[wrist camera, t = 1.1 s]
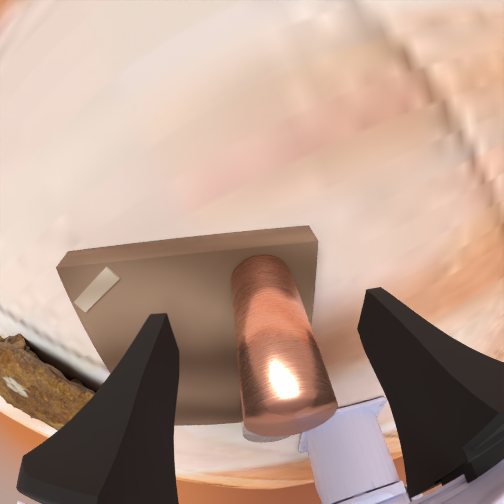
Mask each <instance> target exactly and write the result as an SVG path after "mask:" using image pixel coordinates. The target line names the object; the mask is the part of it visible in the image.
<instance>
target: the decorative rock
mask: <svg viewBox="0 0 504 504" xmlns="http://www.w3.org/2000/svg"><path fill="white" fill-rule="evenodd" d="M94 394H95V392H94V391H93V390H90V389H88V388H86V387H84V385H83V384H82V383H81V382H80V381H78V380H77V379H73V380H71V381H69V380H67V379H66V378H65V376H64V375H63V374H62V373H61V372H60V371H59V370H57V369H56V368H54V367H53V366H52V365H49V364H46V363H43V362H42V361H41V360H40V359H39V357H38V356H37V355H36V354H35V353H34V352H32V351H31V350H30V347H28V346H27V345H26V343H25V340H24V338H23V337H22V336H21V335H20V334H17V335H15V336H9V337H7V338H5V339H3V338H1V336H0V396H2V397H3V398H4V399H5V401H6V402H7V403H9V404H11V405H13V406H14V407H16V408H18V409H20V410H22V411H23V412H25V413H26V414H28V415H30V416H31V418H36V419H39V420H41V421H43V422H45V423H46V424H48V425H49V426H51V427H53V428H55V429H56V430H59V429H61V428H62V427H63V426H64V425H65V424H66V423H67V422H69V421H70V420H71V419H72V418H73V417H74V416H75V415H76V414H77V413H78V412H79V411H80V410H81V409H82V408H83V406H84V405H85V404H86V403H87V402H88V401H89V400H90V399H91V398H92V397H93V395H94Z"/></svg>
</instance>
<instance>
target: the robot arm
mask: <svg viewBox="0 0 504 504" xmlns="http://www.w3.org/2000/svg"><path fill="white" fill-rule="evenodd" d="M357 329H358V332H359V335H360V338H361V342H362V344H363V347H364V350H365V353H366V355H367V357H368V359H369V361H370V363H371V365H372V367H373V369H374V372H375V374H376V376H377V378H378V380H379V382H380V384H381V386H382V388H383V390H384V393H385V395H386V397H387V400H388V402H389V405H390V408H391V411H392V414H393V417H394V421H395V424H396V428H397V432H398V436H399V440H400V444H401V449H402V454H403V459H404V465H405V472H406V482H407V484H406V485H404V484H403V481H400V480H399V477H398V474H397V471H396V469H395V466H394V463H393V460H392V457H391V455H390V452H389V449H388V447H387V444H386V441H385V439H384V436H383V434H382V431H381V428H380V426H379V423H378V421H377V416H378V415H379V413H380V411H381V410H382V408H383V406H384V404H385V403H386V401H387V400H386V398H385V397H381V398H377V399H374V400H370V401H367V402H363V403H359V404H356V405H352V406H348V407H343V408H339V409H337V410H336V412H335V414H334V415H333V416H332V417H331V418H330V419H329V420H327V421H326V422H325V423H323V424H321V425H320V426H318V427H316V428H313V429H311V430H309V431H306V432H303V433H302V434H301V439H300V444H299V448H298V451H299V452H307V451H308V455H309V459H310V463H311V468H312V472H313V476H314V481H315V485H316V489H317V492H318V495H319V496H320V498H321V501H322V504H504V362H501V361H498V360H496V359H493V358H491V357H489V356H486V355H484V354H482V353H480V352H478V351H476V350H474V349H472V348H470V347H468V346H466V345H464V344H462V343H461V342H459V341H457V340H455V339H454V338H452V337H450V336H449V335H447V334H446V333H444V332H443V331H441V330H440V329H438V328H437V327H435V326H434V325H432V324H431V323H429V322H428V321H426V320H425V319H424V318H422V317H421V316H419V315H418V314H417V313H415V312H414V311H413V310H411V309H410V308H409V307H407V306H406V305H405V304H403V303H402V302H401V301H399V300H398V299H397V298H395V297H394V296H393V295H391V294H390V293H388V292H387V291H386V290H384V289H383V288H381V287H379V288H373V289H367V290H366V294H365V299H364V303H363V308H362V312H361V316H360V320H359V324H358V328H357ZM179 366H180V364H179V348H178V346H177V343H176V340H175V337H174V334H173V331H172V328H171V325H170V321H169V318H168V315H167V313H158V314H150V315H149V316H148V318H147V320H146V321H145V323H144V324H143V326H142V327H141V329H140V331H139V332H138V334H137V335H136V337H135V339H134V340H133V342H132V343H131V345H130V346H129V348H128V349H127V351H126V352H125V354H124V355H123V357H122V359H121V360H120V361H119V363H118V364H117V366H116V367H115V368H114V370H113V371H112V373H111V374H110V375H109V377H108V378H107V379H106V381H105V382H104V383H103V385H102V386H101V387H100V388H99V389H98V391H97V392H96V393H95V394H94V395H93V397H92V398H91V399H90V400H89V401H88V402H87V403H86V404H85V405H84V406H83V408H82V409H81V410H80V411H79V412H78V413H77V414H76V415H75V416H74V417H73V418H72V419H71V420H70V421H69V422H67V423H66V424H65V425H64V426H63V427H62V428H61V429H59V430H58V431H57V432H56V433H55V434H53V435H52V436H51V437H50V438H48V439H47V440H46V441H45V442H43V443H42V444H40V445H39V446H37V447H36V448H35V449H33V450H32V451H30V452H29V453H27V454H25V455H24V456H23V459H22V463H21V467H20V472H19V476H18V481H17V487H16V488H17V490H18V491H19V492H20V493H22V494H23V495H25V496H27V497H29V498H31V499H33V500H35V501H37V502H39V503H41V504H179V503H178V495H177V488H176V477H175V463H174V422H175V412H176V403H177V394H178V385H179ZM441 483H442V487H440V488H438V489H436V490H434V491H432V492H431V493H429V494H426V495H424V496H423V494H422V493H423V492H426V491H427V490H430V489H431V488H434V487H435V486H437V485H439V484H441ZM17 504H26V503H23V502H21V501H18V502H17Z"/></svg>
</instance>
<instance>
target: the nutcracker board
mask: <svg viewBox="0 0 504 504" xmlns="http://www.w3.org/2000/svg"><path fill="white" fill-rule="evenodd" d="M317 251H318V240H317V238H316V237H315V235H314V233H313V232H312V230H311V228H310V227H309V226H297V227H286V228H275V229H264V230H254V231H244V232H233V233H224V234H214V235H204V236H195V237H186V238H176V239H167V240H159V241H150V242H141V243H133V244H124V245H116V246H108V247H100V248H92V249H84V250H77V251H69V252H67V254H66V255H65V256H64V258H63V259H62V260H61V262H60V263H59V264H58V266H57V267H56V269H57V271H58V274H59V276H60V278H61V281H62V283H63V285H64V288H65V290H66V292H67V294H68V296H69V298H70V301H71V303H72V305H73V307H74V309H75V311H76V313H77V315H78V317H79V319H80V321H81V323H82V325H83V327H84V329H85V330H86V332H87V334H88V336H89V338H90V340H91V341H92V343H93V345H94V347H95V348H96V350H97V352H98V354H99V355H100V357H101V359H102V360H103V362H104V364H105V365H106V367H107V369H108V370H109V372H110V373H112V371H113V370H114V368H115V367H116V366H117V364H118V363H119V361H120V360H121V359H122V357H123V355H124V354H125V352H126V351H127V349H128V348H129V346H130V345H131V343H132V342H133V340H134V339H135V337H136V335H137V334H138V332H139V331H140V329H141V327H142V326H143V324H144V323H145V321H146V320H147V318H148V316H149V315H150V314H158V313H167V315H168V318H169V321H170V325H171V328H172V331H173V334H174V337H175V340H176V343H177V346H178V348H179V364H180V366H179V385H178V394H177V403H176V412H175V422H174V425H210V424H226V423H238V422H242V418H241V407H242V402H241V392H240V382H239V371H238V360H237V349H236V338H235V327H234V315H233V303H232V290H231V277H232V274H233V271H234V270H235V268H236V267H237V266H238V265H239V264H240V263H241V262H242V261H244V260H245V259H247V258H249V257H252V256H255V255H263V254H265V255H273V256H276V257H278V258H280V259H282V260H283V261H284V262H285V263H286V264H287V265H288V267H289V268H290V271H291V274H292V276H293V279H294V282H295V284H296V287H297V290H298V292H299V295H300V298H301V301H302V303H303V306H304V309H305V312H306V314H307V317H308V320H309V323H310V325H311V322H312V312H313V302H314V291H315V279H316V266H317Z"/></svg>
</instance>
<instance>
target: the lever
mask: <svg viewBox="0 0 504 504" xmlns="http://www.w3.org/2000/svg"><path fill="white" fill-rule="evenodd" d="M231 290H232V303H233V315H234V327H235V338H236V349H237V360H238V371H239V382H240V392H241V402H242V407H241V418H242V428H243V436H244V438H246V439H247V440H250V441H253V442H272V441H278V440H281V439H284V438H287V437H289V436H291V435H295V434H299V433H303V432H306V431H309V430H311V429H313V428H316V427H318V426H320V425H321V424H323V423H325V422H326V421H327V420H329V419H330V418H331V417H332V416H333V415H334V414H335V412H336V410H337V407H338V404H337V401H336V398H335V395H334V392H333V389H332V386H331V383H330V380H329V377H328V374H327V371H326V368H325V365H324V362H323V359H322V357H321V354H320V351H319V348H318V345H317V342H316V339H315V337H314V334H313V331H312V328H311V325H310V323H309V320H308V317H307V314H306V312H305V309H304V306H303V303H302V301H301V298H300V295H299V292H298V290H297V287H296V284H295V282H294V279H293V276H292V274H291V271H290V268H289V267H288V265H287V264H286V263H285V262H284V261H283V260H282V259H280V258H278V257H276V256H273V255H265V254H263V255H255V256H252V257H249V258H247V259H245V260H244V261H242V262H241V263H240V264H239V265H238V266H237V267H236V268H235V270H234V271H233V274H232V277H231Z"/></svg>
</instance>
